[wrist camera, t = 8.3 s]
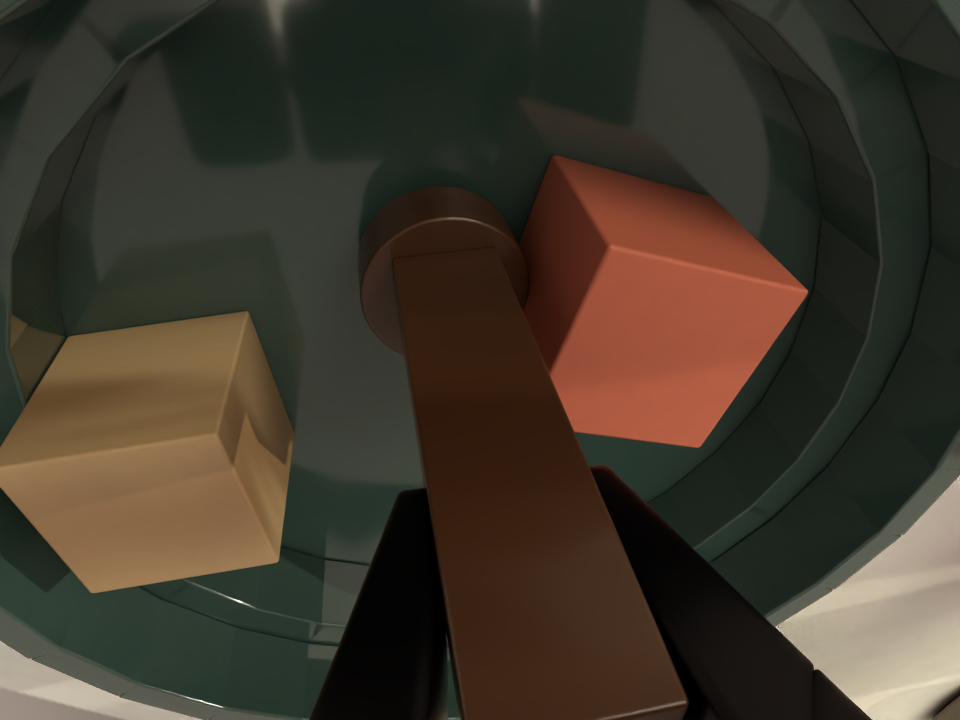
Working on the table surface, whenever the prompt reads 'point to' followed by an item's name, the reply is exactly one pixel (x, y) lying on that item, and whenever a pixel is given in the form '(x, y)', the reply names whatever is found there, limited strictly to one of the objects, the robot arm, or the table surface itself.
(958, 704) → the cell phone
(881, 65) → the bowl
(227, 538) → the birch block
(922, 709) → the table surface
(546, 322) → the coral block
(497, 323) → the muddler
